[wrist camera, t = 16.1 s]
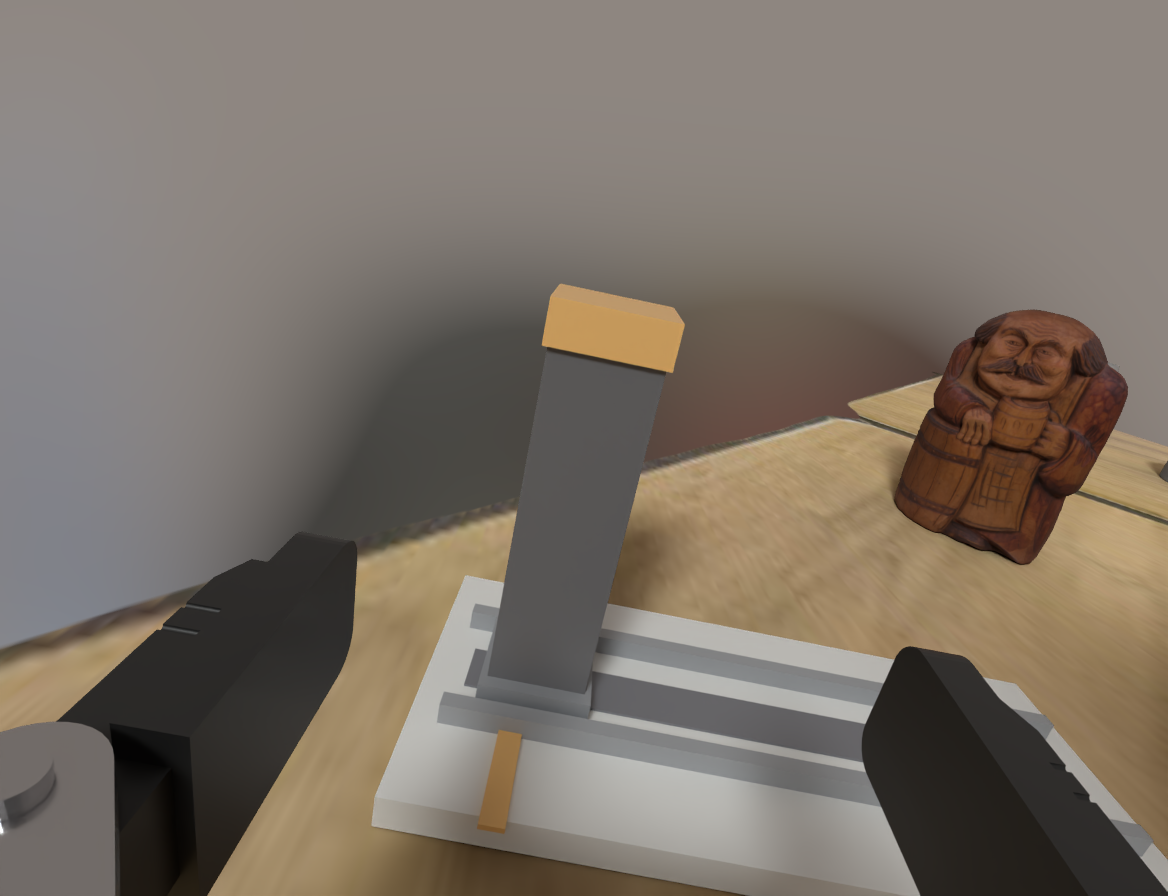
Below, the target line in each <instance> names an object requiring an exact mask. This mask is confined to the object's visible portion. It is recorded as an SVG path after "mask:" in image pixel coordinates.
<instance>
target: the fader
mask: <svg viewBox="0 0 1168 896" xmlns="http://www.w3.org/2000/svg"><path fill="white" fill-rule="evenodd" d="M684 326H685V324H684V323H683V321H682V320H681V318H680V316H679V315H678V313H677V312H676V310H675V309H674V308H673V307H668V306H664V305H659V304H654V303H649V302H644V301H640V300H635V299H631V298H626V297H621V296H616V295H612V294H607V293H602V292H597V291H592V290H588V289H583V288H578V287H574V286H569V285H564V284H560V285H559V286H558V287H557V288H556V290H555V291H554V292H553V294H552V295H551V297H550V302H549V308H548V313H547V319H546V325H545V330H544V336H543V342H542V346H547V351H546V357H545V362H544V368H543V373H542V379H541V384H540V390H539V395H538V401H537V407H536V412H535V417H534V423H533V428H532V434H531V439H530V445H529V451H528V455H527V461H526V466H525V472H524V478H523V483H522V488H521V494H520V499H519V505H518V510H517V516H516V521H515V527H514V532H513V538H512V543H511V549H510V554H509V560H508V565H507V571H506V576H505V582H504V587H503V593H502V598H501V604H500V609H499V615H497V619H496V622H495V626H494V629H493V632H492V636H491V639H490V643H489V646H488V650H487V653H486V657H485V660H484V664H483V667H482V671H481V674H480V678H479V681H478V684H477V690H476V696H475V698H481V699H486V700H491V701H496V702H502V703H507V704H512V705H517V706H522V707H528V708H533V709H538V710H543V711H549V712H554V713H559V714H564V715H569V716H575V717H580V718H585V719H588V715H589V711H590V707H591V690H592V668H593V658H594V654H595V651H596V647H597V643H598V639H599V635H600V631H601V627H602V623H603V619H604V615H605V611H606V607H607V603H608V599H609V595H610V591H611V588H612V584H613V580H614V576H615V572H616V568H617V564H618V560H619V556H620V552H621V548H622V544H623V540H624V536H625V532H626V528H627V525H628V521H629V517H630V513H631V509H632V505H633V501H634V497H635V493H636V489H637V485H638V481H639V477H640V473H641V469H642V466H643V462H644V458H645V454H646V450H647V446H648V442H649V438H650V434H651V430H652V426H653V422H654V418H655V414H656V410H657V406H658V403H659V399H660V394H661V391H662V387H663V383H664V379H665V375H666V372H671V373H673V369H674V364H675V361H676V357H677V353H678V349H679V345H680V341H681V338H682V334H683V330H684Z"/></svg>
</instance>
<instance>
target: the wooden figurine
mask: <svg viewBox="0 0 1168 896" xmlns="http://www.w3.org/2000/svg"><path fill="white" fill-rule="evenodd" d="M1127 395H1128V386H1127V384H1126V381H1125V379H1124V378H1123V376H1122V375H1121V374H1119V373H1118V372H1117V371H1116V370H1115V369H1113V368H1112V367H1110V366H1109V365H1108V361H1107V358H1106V355H1105V352H1104V349H1103V347H1102V344H1101V342H1100V340H1099V339H1098V337H1097V336H1096V335H1095V333H1094V332H1093V331H1091V330H1090V329H1089V328H1088V327H1086V326H1085V325H1084V324H1082V323H1081V322H1079V321H1077V320H1076V319H1073V318H1070V317H1067V316H1064V315H1060V314H1055V313H1051V312H1047V311H1041V310H1022V311H1013V312H1009V313H1005V314H1002V315H1000V316H998V317H995V318H992V319H990V320H988V321H987V322H986V323H984V324H983V325H981V326H980V327H979V328H978V329H977V330H976V332H975V337H972V338H969V339H967V340H965V341H963V342H961V343H960V344H959V345H958V346H957V347H956V348H955V349H954V351H953V353H952V356H951V358H950V361H949V363H948V366H947V368H946V371H945V373H944V375H943V377H942V379H941V381H940V383H939V385H938V387H937V389H936V391H935V393H934V408H931V409H930V410H929V411H928V412H927V414H926V416H925V418H924V420H923V422H922V424H921V426H920V430H919V431H918V434H917V437H916V438H915V441H914V443H913V446H912V448H911V451H910V453H909V456H908V458H907V461H906V463H905V466H904V469H903V472H902V476H901V478H900V482H899V484H898V487H897V490H896V494H895V502H896V503H897V507H898V508H899V509H900V510H901V511H902V512H903V513H904V514H905V515H906V516H907V517H908V518H910V519H911V520H913V521H914V522H916V523H918V524H919V525H921V526H923V527H925V528H927V529H929V530H931V531H933V532H941V533H943V534H945V535H948V536H950V537H952V538H953V539H955V540H957V541H959V542H964V543H967V544H970V545H971V546H973V547H975V548H978V549H980V550H992V551H996V552H998V553H1000V554H1002V555H1004V556H1006V557H1008V558H1010V559H1011V560H1014V561H1015V562H1017V563H1019V564H1030V563H1031V562H1032V561H1033V560H1034V559H1035V558H1036V557H1037V555H1038V553H1039V552H1040V550H1041V549H1042V547H1043V545H1044V544H1045V542H1046V541H1047V539H1048V537H1049V536H1050V534H1051V532H1052V530H1053V528H1054V525H1055V523H1056V521H1057V518H1058V516H1059V513H1060V511H1061V509H1062V506H1063V503H1064V500H1065V498H1066V496H1069V495H1072V494H1074V493H1076V492H1077V491H1078V490H1079V489H1080V488H1081V486H1082V485H1083V483H1084V482H1085V480H1086V478H1087V476H1088V474H1089V472H1090V470H1091V469H1092V467H1093V465H1094V464H1095V462H1096V460H1097V458H1098V456H1099V454H1100V452H1101V451H1102V449H1103V447H1104V446H1105V444H1106V442H1107V440H1108V438H1109V436H1110V434H1111V432H1112V431H1113V429H1114V427H1115V425H1116V423H1117V421H1118V418H1119V416H1120V414H1121V412H1122V409H1123V407H1124V404H1125V401H1126V399H1127Z"/></svg>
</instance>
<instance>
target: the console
mask: <svg viewBox="0 0 1168 896" xmlns="http://www.w3.org/2000/svg"><path fill="white" fill-rule="evenodd" d="M503 587H504V583H502V582H497V581H492V580H487V579H482V578H477V577H472V576H467V575H466V576H465V578H464V580H463V583H462V585H461V588H460V590H459V593H458V595H457V598H456V600H455V602H454V605H453V607H452V610H451V612H450V615H449V617H448V619H447V622H446V624H445V627H444V629H443V632H442V634H441V637H440V639H439V641H438V644H437V646H436V649H435V651H434V654H433V656H432V659H431V661H430V663H429V666H428V668H427V671H426V673H425V676H424V678H423V680H422V683H421V685H420V688H419V690H418V693H417V695H416V698H415V700H414V702H413V705H412V707H411V710H410V712H409V715H408V717H407V720H406V722H405V724H404V727H403V729H402V732H401V734H400V737H399V739H398V741H397V744H396V746H395V749H394V751H393V754H392V756H391V759H390V761H389V763H388V766H387V768H386V771H385V773H384V776H383V778H382V781H381V783H380V785H379V788H378V790H377V793H376V795H375V799H374V808H373V817H372V826H374V827H379V828H385V829H390V830H396V831H401V832H407V833H412V834H417V835H423V836H428V837H434V838H439V839H444V840H450V841H455V842H461V843H466V844H472V845H477V846H482V847H488V848H493V849H499V850H504V851H510V852H515V853H520V854H526V855H531V856H537V857H542V858H547V859H553V860H558V861H564V862H569V863H575V864H580V865H585V866H591V867H596V868H602V869H607V870H612V871H618V872H623V873H629V874H634V875H640V876H645V877H650V878H656V879H661V880H667V881H672V882H678V883H683V884H688V885H694V886H699V887H705V888H710V889H715V890H721V891H726V892H732V893H737V894H743V895H748V896H920V894H919V892H918V889H917V887H916V885H915V882H914V880H913V878H912V876H911V873H910V871H909V869H908V867H907V864H906V862H905V860H904V858H903V855H902V853H901V851H900V848H899V846H898V844H897V842H896V839H895V837H894V835H893V833H892V830H891V828H890V826H889V823H888V821H887V819H886V817H885V814H884V812H883V810H882V808H881V805H880V803H879V801H878V799H877V796H876V794H875V792H874V789H873V787H872V785H871V783H870V780H869V778H868V776H867V773H866V771H865V768H864V764H863V759H862V735H863V730H864V726H865V724H866V721H867V719H868V717H869V715H870V713H871V710H872V708H873V706H874V704H875V702H876V699H877V697H878V695H879V693H880V691H881V688H882V686H883V684H884V682H885V680H886V677H887V675H888V673H889V671H890V669H891V666H892V664H893V662H894V660H893V659H888V658H882V657H877V656H872V655H867V654H862V653H857V652H852V651H847V650H842V649H837V648H832V647H827V646H822V645H817V644H811V643H806V642H801V641H796V640H791V639H786V638H781V637H776V636H771V635H766V634H761V633H756V632H751V631H746V630H741V629H735V628H730V627H725V626H720V625H715V624H710V623H705V622H700V621H695V620H690V619H685V618H680V617H675V616H670V615H664V614H659V613H654V612H649V611H644V610H639V609H634V608H629V607H624V606H619V605H614V604H609V603H607V607H606V611H605V615H604V619H603V623H602V627H601V631H600V635H599V639H598V643H597V647H596V651H595V654H594V658H593V668H592V690H591V707H590V711H589V715H588V719H585V718H580V717H575V716H569V715H564V714H559V713H554V712H549V711H543V710H538V709H533V708H528V707H522V706H517V705H512V704H507V703H502V702H496V701H491V700H486V699H481V698H475V696H476V690H477V684H478V681H479V678H480V674H481V671H482V667H483V664H484V660H485V657H486V653H487V650H488V646H489V643H490V639H491V636H492V632H493V629H494V626H495V622H496V619H497V615H499V609H500V604H501V598H502V593H503ZM983 678H984V677H983ZM984 679H985V681H986V682H987V683H988V684H989V686H990V687H991V688H992V690H993V691H994V692H995V693H996V695H997V696H998V697H999V699H1001V700H1002V701H1003V702H1004V703H1006V704H1007V705H1008V706H1009V707H1010V708H1012V709H1013V710H1014V711H1015V712H1016V713H1017V714H1019V715H1020V716H1021V717H1022V718H1023V719H1025V720H1026V721H1027V722H1028V723H1029V724H1031V725H1032V726H1033V727H1034V728H1035V729H1037V730H1038V731H1039V732H1040V734H1041V735H1042V736H1043V737H1044V739H1045V740H1046V741H1047V742H1048V744H1049V745H1050V746H1051V747H1052V749H1053V750H1054V751H1055V752H1056V754H1057V755H1058V756H1059V757H1060V759H1061V760H1062V761H1063V762H1064V764H1065V765H1066V767H1065V768H1066V771H1067V772H1072V773H1073V775H1074V776H1075V777H1076V778H1077V780H1078V781H1079V782H1080V783H1081V785H1082V786H1083V787H1084V788H1085V790H1086V791H1087V792H1088V793H1089V795H1090V796H1089V799H1090V801H1091V802H1094V803H1097V804H1098V806H1099V807H1100V808H1101V809H1102V811H1103V812H1104V813H1105V814H1106V816H1107V817H1108V818H1109V819H1110V821H1111V822H1112V823H1113V824H1114V826H1115V827H1116V828H1117V829H1118V831H1119V832H1120V833H1121V834H1122V836H1123V837H1124V838H1125V839H1126V840H1127V842H1128V843H1129V844H1130V845H1131V847H1132V848H1133V849H1134V850H1135V852H1136V853H1137V854H1138V855H1139V857H1140V858H1141V859H1142V860H1143V862H1144V863H1145V864H1146V865H1147V867H1148V868H1149V869H1150V870H1151V872H1152V873H1153V874H1154V875H1155V876H1156V878H1157V879H1158V880H1159V881H1160V883H1161V884H1162V885H1163V886H1164V888H1165V889H1166V890H1167V891H1168V860H1167V859H1166V857H1165V856H1164V855H1163V854H1162V853H1161V852H1160V851H1159V849H1158V848H1157V847H1156V846H1155V845H1154V844H1153V841H1154V840H1153V839H1152V838H1151V837H1150V836H1149V835H1148V833H1147V832H1146V831H1145V830H1144V829H1143V828H1142V827H1141V825H1139V824H1136V823H1135V822H1134V820H1133V819H1132V818H1131V817H1130V816H1129V815H1128V813H1127V812H1126V811H1125V810H1124V809H1123V808H1122V806H1121V805H1120V804H1119V803H1118V802H1117V801H1116V800H1115V798H1114V797H1113V796H1112V795H1111V794H1110V793H1109V791H1108V790H1107V789H1106V788H1105V787H1104V786H1103V784H1102V783H1101V782H1100V781H1099V780H1098V779H1097V777H1096V776H1095V775H1094V774H1093V773H1092V772H1091V771H1090V769H1089V768H1088V767H1087V766H1086V765H1085V764H1084V762H1083V761H1082V760H1081V759H1080V758H1079V757H1078V755H1077V754H1076V753H1075V752H1074V751H1073V750H1072V749H1071V747H1070V746H1069V745H1068V744H1067V743H1066V742H1065V740H1064V739H1063V738H1062V737H1061V736H1060V735H1059V733H1058V732H1057V731H1056V730H1055V729H1054V728H1053V727H1054V725H1053V724H1052V723H1051V722H1050V720H1049V719H1048V718H1047V717H1046V716H1045V715H1042V714H1041V713H1040V711H1039V710H1038V709H1037V708H1036V707H1035V706H1034V704H1033V703H1032V702H1031V701H1030V700H1029V699H1028V697H1027V696H1026V695H1025V694H1024V693H1023V692H1022V691H1021V689H1020V688H1019V687H1018V686H1017V685H1016V684H1014V683H1009V682H1004V681H999V680H994V679H989V678H984Z"/></svg>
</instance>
